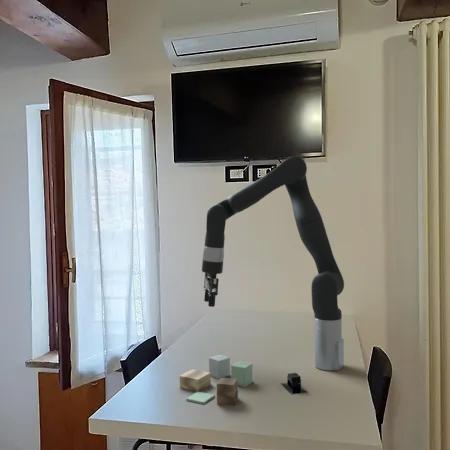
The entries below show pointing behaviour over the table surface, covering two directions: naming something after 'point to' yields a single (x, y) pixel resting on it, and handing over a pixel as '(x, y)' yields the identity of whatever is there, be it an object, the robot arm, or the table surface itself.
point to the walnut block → (227, 391)
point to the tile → (200, 397)
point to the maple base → (195, 380)
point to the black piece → (294, 384)
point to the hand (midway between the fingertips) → (209, 303)
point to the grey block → (219, 366)
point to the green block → (242, 373)
